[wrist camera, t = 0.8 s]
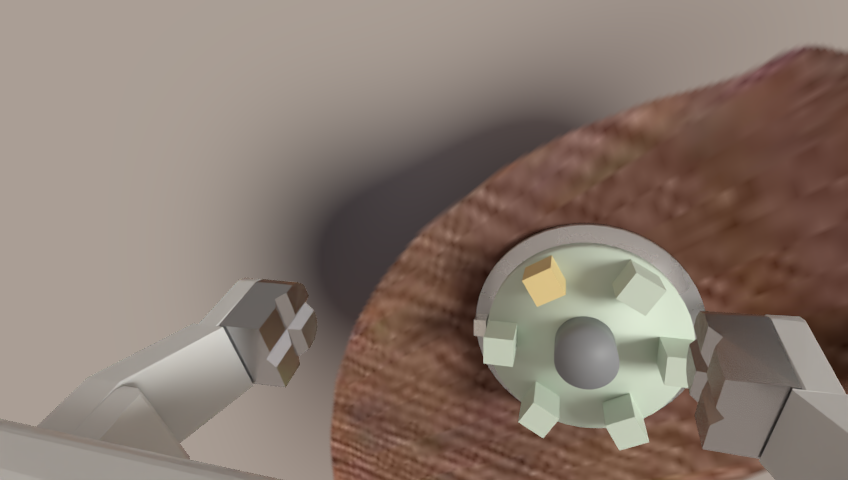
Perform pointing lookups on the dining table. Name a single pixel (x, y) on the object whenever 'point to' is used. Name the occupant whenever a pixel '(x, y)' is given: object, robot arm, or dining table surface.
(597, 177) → the dining table surface
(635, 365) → the green toy gear
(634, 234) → the mount plate
